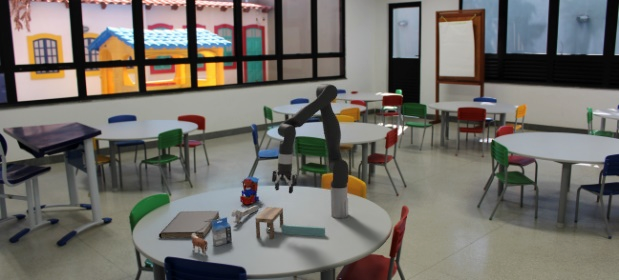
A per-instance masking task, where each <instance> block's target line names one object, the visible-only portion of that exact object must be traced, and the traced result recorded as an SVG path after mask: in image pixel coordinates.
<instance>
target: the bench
mask: <svg viewBox="0 0 619 280" xmlns="http://www.w3.org/2000/svg"><path fill="white" fill-rule="evenodd" d="M278 218H279V228H281V225H282V224H283V225H284V208H283V207H276V206H274V207H272V206H267V207H265V208H264V209H263V210H262V211H261V212H260V213H259V214H258V215H257V216H256V217H255V233H256V235H255V236H256V238H258V239H260V238H261V229H260V228H261V225H260V223H265V224H266V227H270V233H269V238H270V239H271V240H274V239H275V232H274V231H275V227H274V226H275V225H274V222H275V221H276V219H278Z"/></svg>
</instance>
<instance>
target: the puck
mask: <svg viewBox="0 0 619 280" xmlns="http://www.w3.org/2000/svg"><path fill="white" fill-rule="evenodd" d="M265 232H266V234H270V226H267V227H266V229H265ZM274 233H275V230H274Z"/></svg>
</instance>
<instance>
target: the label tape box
mask: <svg viewBox="0 0 619 280" xmlns="http://www.w3.org/2000/svg"><path fill="white" fill-rule="evenodd" d="M211 234H212V244H213V246H215V247H219V246H222V245H226V244H229V243H232V242H233V241H232V240H233V239H232V227H231V225H230V223H229V222H228V217H222V218H219V219H218V218H217V219H216V220H214V221H212V228H211Z"/></svg>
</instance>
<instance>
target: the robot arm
mask: <svg viewBox="0 0 619 280" xmlns="http://www.w3.org/2000/svg"><path fill="white" fill-rule="evenodd" d="M338 92H339V91H338V88H337V87H336V86H335V85H334V84H328V83H321V84H319V85H318V86H317V87H316V90H315V97H316V98H314V100H313V101H310V102H309V103H307V104H306V105H304V106H303V107H301V108H300V109H298V111H297V112H296V113H295V114H293V116H292V117H289V118H288V119H286V120H285V121H283V122H282V123H281V124H280V125H279V126H278V127H277V134H278V135H279V136H280V137H282V138H283V141H281V142H280V143H279V146H278V147H279V149H278V158H277V170H273V171H272V177H271V182H273V183H274V189H275V191H279V190H280V182H281V181H284V182H286V183H287V185H288V194H290V195H291V194H292V193H294V192H293V191H294V187H295V186H297V185H298V183H297V182H298V177H297V176H298V175H297V174H296V173H295V174H292V171H293V159H294V158H293V151H294V150H293V147H294V143H295V140H296V136H297V130H296V128H301V127H303V126H304V125H305V124H306V123H307V122H308V121H309V120H310V119H311V118H312V117H313V116H314V115H315V114H316V113H318V112H319V111H320V117H321V120H322V121H321V122H322V129H323V134H324V135H323V136H324V139H325V140H324V141H325V145H326V151H327V160H328V161H327V163H328V168H329V169H328V170H329V171H330V172H331V173H332V180H331V181H330V211H331V212H330V213H331V214H330V215H331V217H332V218H336V219H343V218H347V217H348V215H349V198H348V183H349V165H348V162H347V161H346V160H345V159H343V158H342V157H343V156H342V154H341V139H342V132H341V126H340V122H339V120H338V117H337V116H336V114H335V111H334V110H333V107H332V102H334V100H336V98H337V96H338Z"/></svg>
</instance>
